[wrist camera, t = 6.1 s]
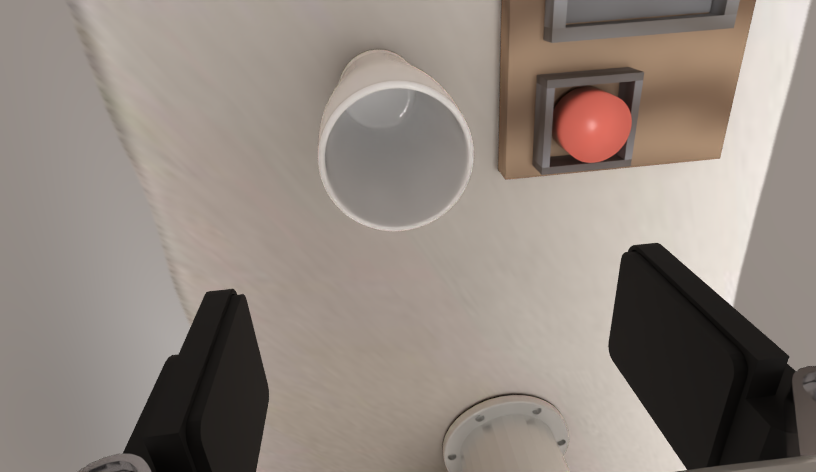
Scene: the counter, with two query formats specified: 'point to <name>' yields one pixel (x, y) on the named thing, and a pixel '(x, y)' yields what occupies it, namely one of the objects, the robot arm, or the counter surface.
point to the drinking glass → (393, 144)
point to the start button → (591, 124)
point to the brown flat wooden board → (619, 77)
